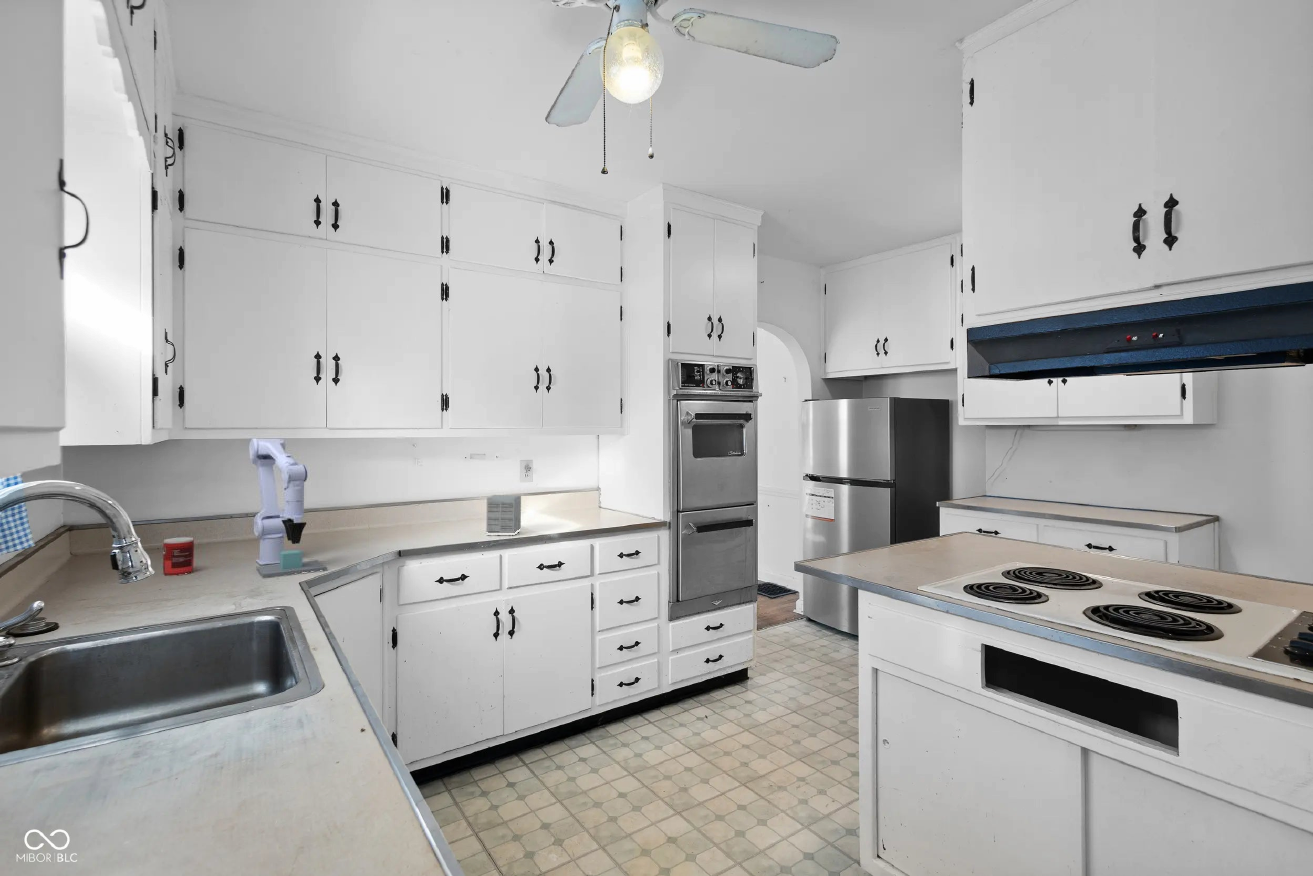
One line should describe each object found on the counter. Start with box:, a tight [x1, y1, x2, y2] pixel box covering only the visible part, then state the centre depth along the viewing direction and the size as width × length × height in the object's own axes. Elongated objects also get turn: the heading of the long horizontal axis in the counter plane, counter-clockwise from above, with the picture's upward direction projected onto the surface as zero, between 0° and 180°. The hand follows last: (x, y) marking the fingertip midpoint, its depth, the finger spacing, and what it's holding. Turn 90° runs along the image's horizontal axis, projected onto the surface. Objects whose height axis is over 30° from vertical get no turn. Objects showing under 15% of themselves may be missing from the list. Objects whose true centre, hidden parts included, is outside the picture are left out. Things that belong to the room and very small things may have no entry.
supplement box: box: [485, 494, 522, 533], centre depth 285 cm, size 13×13×18 cm
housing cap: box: [279, 549, 303, 569], centre depth 204 cm, size 6×6×5 cm
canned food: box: [162, 536, 195, 576], centre depth 198 cm, size 8×8×11 cm
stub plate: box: [256, 560, 328, 579], centre depth 204 cm, size 14×18×4 cm
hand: (293, 542), depth 205 cm, fingers open, 7 cm apart
